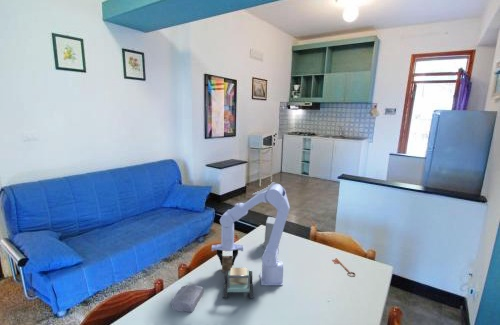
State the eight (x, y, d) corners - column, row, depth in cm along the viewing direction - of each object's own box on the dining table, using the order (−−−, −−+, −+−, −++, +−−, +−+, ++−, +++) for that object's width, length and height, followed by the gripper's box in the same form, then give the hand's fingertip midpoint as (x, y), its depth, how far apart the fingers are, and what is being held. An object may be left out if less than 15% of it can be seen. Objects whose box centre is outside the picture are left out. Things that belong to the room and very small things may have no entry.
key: (329, 260, 134) (345, 278, 120) (329, 259, 134) (345, 277, 120) (339, 258, 135) (356, 276, 121) (339, 257, 135) (357, 274, 121)
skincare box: (265, 241, 151) (266, 216, 148) (277, 242, 150) (279, 217, 146) (263, 248, 143) (264, 222, 140) (276, 250, 141) (277, 223, 138)
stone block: (170, 314, 98) (194, 313, 96) (167, 302, 98) (191, 301, 96) (183, 294, 110) (205, 293, 108) (181, 283, 109) (203, 282, 107)
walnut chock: (232, 263, 125) (232, 251, 124) (231, 272, 118) (232, 260, 117) (223, 263, 125) (223, 251, 123) (222, 272, 118) (222, 260, 117)
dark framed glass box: (251, 278, 117) (252, 258, 115) (253, 300, 104) (253, 277, 102) (225, 278, 117) (225, 257, 115) (223, 300, 103) (223, 277, 101)
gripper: (243, 233, 122) (242, 259, 125) (212, 233, 122) (212, 259, 124) (243, 240, 115) (242, 268, 118) (211, 240, 115) (211, 268, 117)
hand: (227, 264), depth 121 cm, fingers closed on walnut chock, 4 cm apart
